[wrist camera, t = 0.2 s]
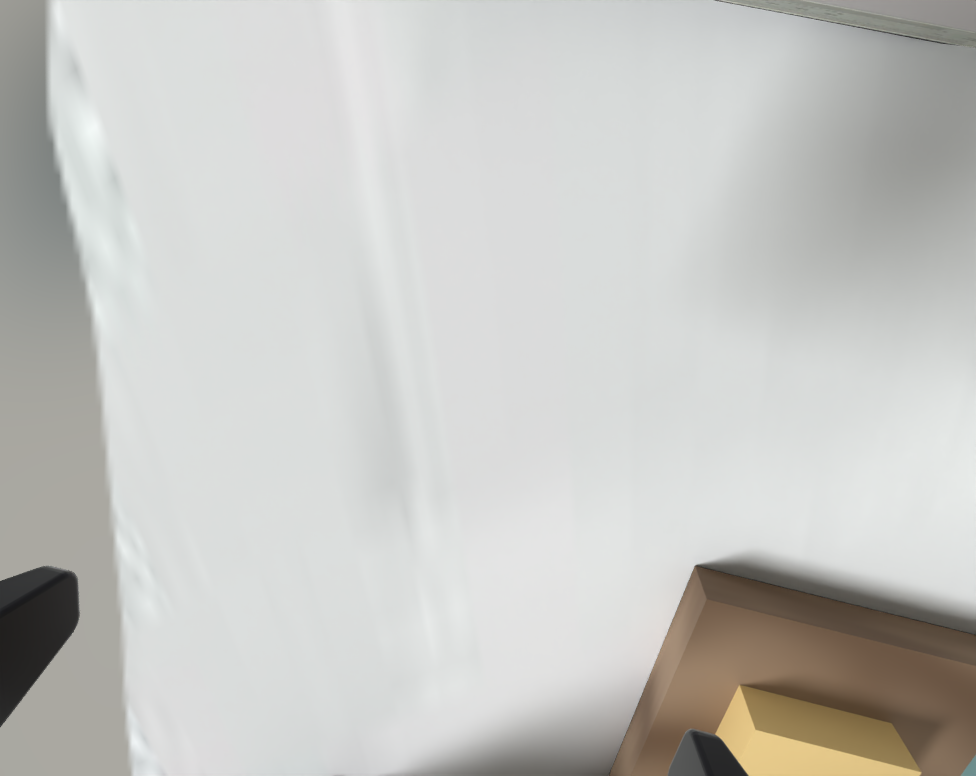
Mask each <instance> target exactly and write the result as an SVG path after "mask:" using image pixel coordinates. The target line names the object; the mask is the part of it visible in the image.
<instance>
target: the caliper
mask: <svg viewBox="0 0 976 776" xmlns="http://www.w3.org/2000/svg"><path fill="white" fill-rule="evenodd" d="M716 1H721V2H726V3H732V4H737V5H742V6H748V7H753V8H758V9H764V10H769V11H774V12H780V13H785V14H790V15H795V16H801V17H806V18H811V19H816V20H822V21H827V22H832V23H837V24H843V25H848V26H853V27H858V28H864V29H869V30H874V31H879V32H885V33H890V34H895V35H900V36H906V37H911V38H916V39H921V40H927V41H932V42H937V43H943V44H951V45H959V46H967V47H975V48H976V0H716Z"/></svg>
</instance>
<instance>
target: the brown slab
mask: <svg viewBox="0 0 976 776" xmlns="http://www.w3.org/2000/svg"><path fill="white" fill-rule="evenodd" d="M739 685H743V686H746V687H750V688H754V689H758V690H762V691H766V692H770V693H774V694H778V695H782V696H786V697H790V698H794V699H798V700H802V701H806V702H810V703H813V704H817V705H821V706H825V707H829V708H833V709H837V710H841V711H845V712H849V713H853V714H857V715H861V716H865V717H869V718H873V719H877V720H881V721H884V722H888V723H892V725H893V726H894V728H895V730H896V731H897V733H898V734H899V736H900V738H901V739H902V741H903V743H904V744H905V746H906V747H907V749H908V751H909V752H910V754H911V756H912V757H913V759H914V761H915V762H916V764H917V765H918V767H919V769H920V770H921V772H922V773H921V774H920V776H961V774H962V773H963V772H964V770H965V769H966V767H967V766H968V765H969V763H970V762H971V761H972V759H973V758H974V756H975V755H976V635H973V634H969V633H965V632H961V631H957V630H953V629H949V628H945V627H941V626H937V625H933V624H929V623H925V622H921V621H917V620H912V619H908V618H904V617H900V616H896V615H892V614H888V613H884V612H880V611H876V610H872V609H868V608H864V607H860V606H856V605H852V604H848V603H844V602H840V601H836V600H831V599H827V598H823V597H819V596H815V595H811V594H807V593H803V592H799V591H795V590H791V589H787V588H783V587H779V586H775V585H771V584H767V583H763V582H759V581H754V580H750V579H746V578H742V577H738V576H734V575H730V574H726V573H722V572H718V571H714V570H710V569H706V568H702V567H698V566H695V567H694V570H693V572H692V574H691V577H690V579H689V582H688V584H687V587H686V589H685V591H684V594H683V596H682V599H681V601H680V604H679V606H678V608H677V611H676V613H675V616H674V618H673V621H672V623H671V626H670V628H669V630H668V633H667V635H666V638H665V640H664V643H663V645H662V647H661V650H660V652H659V655H658V657H657V660H656V662H655V664H654V667H653V669H652V672H651V674H650V677H649V679H648V681H647V684H646V686H645V689H644V691H643V694H642V696H641V698H640V701H639V703H638V706H637V708H636V711H635V713H634V715H633V718H632V720H631V723H630V725H629V728H628V730H627V732H626V735H625V737H624V740H623V742H622V745H621V747H620V750H619V752H618V754H617V757H616V759H615V762H614V764H613V767H612V769H611V771H610V774H609V776H668V771H669V767H670V765H671V762H672V760H673V758H674V756H675V754H676V751H677V749H678V747H679V745H680V742H681V740H682V738H683V736H684V734H685V732H686V731H687V730H689V729H696V730H700V731H704V732H708V733H712V734H716V732H717V730H718V727H719V725H720V723H721V721H722V719H723V717H724V715H725V713H726V711H727V709H728V707H729V705H730V703H731V701H732V699H733V697H734V695H735V693H736V691H737V689H738V687H739Z"/></svg>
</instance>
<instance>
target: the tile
mask: <svg viewBox="0 0 976 776" xmlns="http://www.w3.org/2000/svg"><path fill="white" fill-rule="evenodd" d="M715 735H717V736H718V737H720V738H721V739H722V740H723V742H724V743H725V744H726V746H727V747H728V748H729V750H730V751H731V752H732V754H733V755H734V756H735V758H736V759H737V760H738V762H739V763H740V764H741V766H742V767H743V769H744V770H745V771H746V773H747V774H748V775H749V776H920V774H921V773H922V772H921V770H920V769H919V767H918V765H917V764H916V762H915V761H914V759H913V757H912V756H911V754H910V752H909V751H908V749H907V747H906V746H905V744H904V743H903V741H902V739H901V738H900V736H899V734H898V733H897V731H896V730H895V728H894V726H893V725H892V723H888V722H884V721H881V720H877V719H873V718H869V717H865V716H861V715H857V714H853V713H849V712H845V711H841V710H837V709H833V708H829V707H825V706H821V705H817V704H813V703H810V702H806V701H802V700H798V699H794V698H790V697H786V696H782V695H778V694H774V693H770V692H766V691H762V690H758V689H754V688H750V687H746V686H743V685H739V687H738V689H737V691H736V693H735V695H734V697H733V699H732V701H731V703H730V705H729V707H728V709H727V711H726V713H725V715H724V717H723V719H722V721H721V723H720V725H719V727H718V730H717V732H716V734H715Z"/></svg>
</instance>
